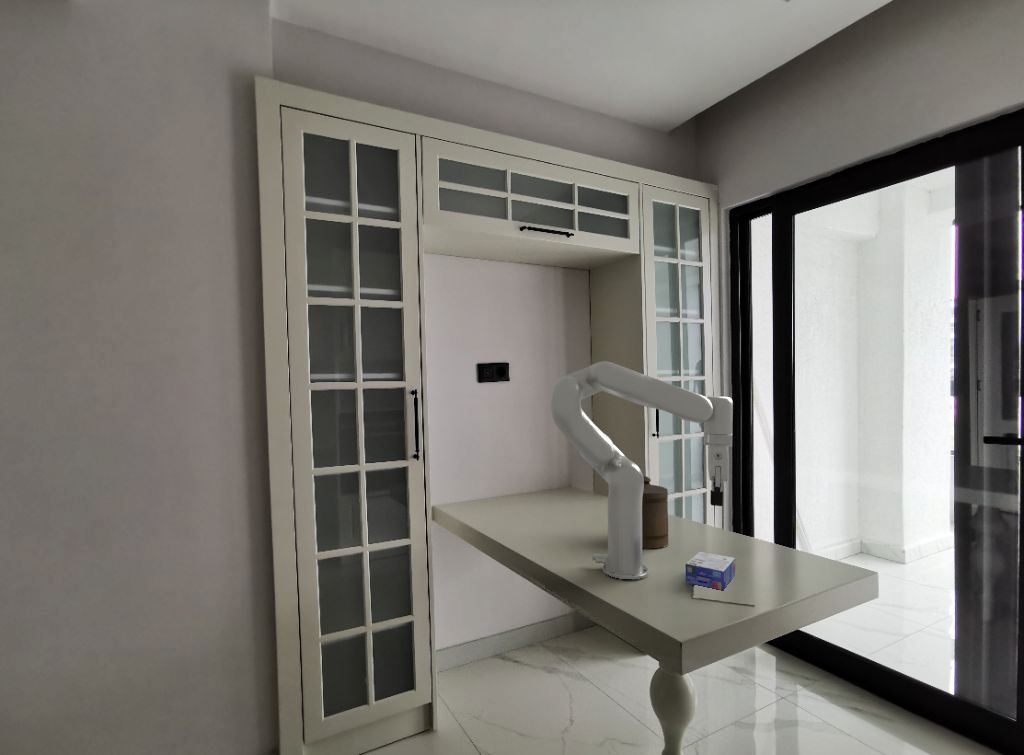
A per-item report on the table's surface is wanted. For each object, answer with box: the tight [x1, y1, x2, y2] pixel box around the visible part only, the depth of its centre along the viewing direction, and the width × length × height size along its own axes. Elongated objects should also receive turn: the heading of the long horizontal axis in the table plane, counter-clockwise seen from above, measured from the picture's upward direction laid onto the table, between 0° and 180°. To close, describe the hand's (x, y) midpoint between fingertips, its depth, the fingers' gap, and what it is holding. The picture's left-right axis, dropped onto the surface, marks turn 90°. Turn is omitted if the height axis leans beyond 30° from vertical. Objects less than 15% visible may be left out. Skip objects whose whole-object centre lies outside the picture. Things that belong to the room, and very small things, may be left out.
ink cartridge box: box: [685, 551, 736, 591], centre depth 135 cm, size 10×6×14 cm
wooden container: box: [642, 475, 669, 549], centre depth 171 cm, size 15×15×22 cm
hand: (716, 505), depth 144 cm, fingers closed
